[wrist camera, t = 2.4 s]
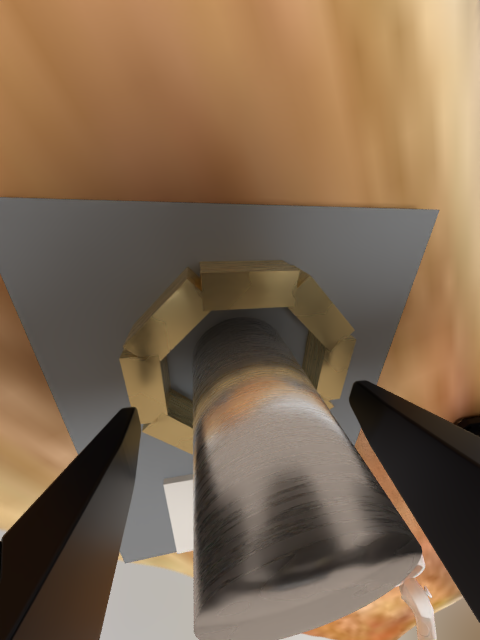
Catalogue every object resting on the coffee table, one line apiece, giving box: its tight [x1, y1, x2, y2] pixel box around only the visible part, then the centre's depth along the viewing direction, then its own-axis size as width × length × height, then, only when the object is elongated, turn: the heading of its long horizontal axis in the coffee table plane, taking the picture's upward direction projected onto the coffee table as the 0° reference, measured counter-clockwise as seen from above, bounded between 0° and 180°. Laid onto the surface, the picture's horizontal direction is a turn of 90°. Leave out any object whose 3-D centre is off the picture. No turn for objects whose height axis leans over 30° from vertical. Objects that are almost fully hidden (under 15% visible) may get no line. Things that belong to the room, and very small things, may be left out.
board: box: [0, 197, 439, 563], centre depth 13 cm, size 15×22×1 cm
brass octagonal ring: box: [119, 260, 356, 455], centre depth 10 cm, size 8×8×2 cm
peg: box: [193, 317, 422, 640], centre depth 7 cm, size 4×4×7 cm
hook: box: [396, 555, 437, 640], centre depth 26 cm, size 8×12×7 cm
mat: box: [163, 474, 193, 554], centre depth 15 cm, size 8×8×1 cm
